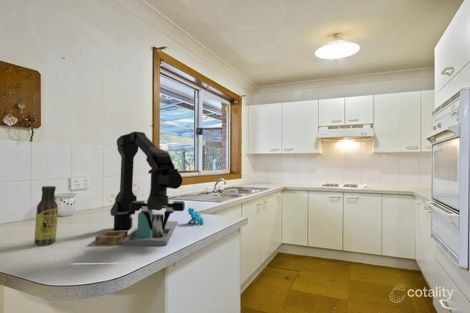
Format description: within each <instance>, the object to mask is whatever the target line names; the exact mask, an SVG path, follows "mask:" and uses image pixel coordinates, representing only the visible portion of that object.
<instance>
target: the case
mask: <svg viewBox="0 0 470 313" xmlns="http://www.w3.org/2000/svg"><path fill="white" fill-rule="evenodd" d="M163 222H164V220H163ZM178 223H179V222H178V221H177V220H175V221H171V220H170V221H168V220H167V223H166V226H165V229H164V230H163V237H162V238H152V236H151V237H137V234H138V227H136V228H134V229H133V230H132V231H131V232H130V233H128V236H127V237H126V238H125V239H124V240H123V241H122V244H121V246H122V247H147V246H151V247H155V246H156V247H158V246H160V247H163V246H168V243H169V241H170V240H171V237H172V235H173V234H174V231H175V229H176V227H177V225H178Z"/></svg>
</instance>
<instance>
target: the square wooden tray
mask: <svg viewBox="0 0 470 313" xmlns="http://www.w3.org/2000/svg"><path fill="white" fill-rule="evenodd" d="M128 231H129V230H128ZM128 231H113V230H104V231H102V232H101V233H99V234H98V235H97V236H95V239H94V240H95V243H94V245H95V246H117V245H118V246H122V241H123V240H124V239H125V238H126V237H127V236H128V235H129V232H128Z"/></svg>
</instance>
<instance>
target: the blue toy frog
mask: <svg viewBox="0 0 470 313" xmlns="http://www.w3.org/2000/svg"><path fill="white" fill-rule="evenodd" d="M187 211H188V215H190V218H191V219H190V220H189V221H188V222H187V223H188V224H191V223H192V222H193V223H196V222H197V225H201V226H203V224H204V223H205V221H204V218H203V217H202V216H201V215H202V214H201V213H198V211H197V210H195V208H191V207H189V208H188V209H187Z"/></svg>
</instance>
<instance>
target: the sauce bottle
mask: <svg viewBox="0 0 470 313" xmlns="http://www.w3.org/2000/svg"><path fill="white" fill-rule="evenodd" d="M56 190H57V189H56V186H55V185H44V186H41V198H40V199H41V200H40V201H39V203H38V204H37V206H36V213H35V214H36V215H35V227H34V228H35V229H34V245H36V246H47V245H51V244H54V243H56V237H57V231H58V230H57V228H58V227H57V226H58V215H59V214H58V212H59V211H58V210H59V209H58V207H59V206H58V203H57V202H56V201H55V194H56Z"/></svg>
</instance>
